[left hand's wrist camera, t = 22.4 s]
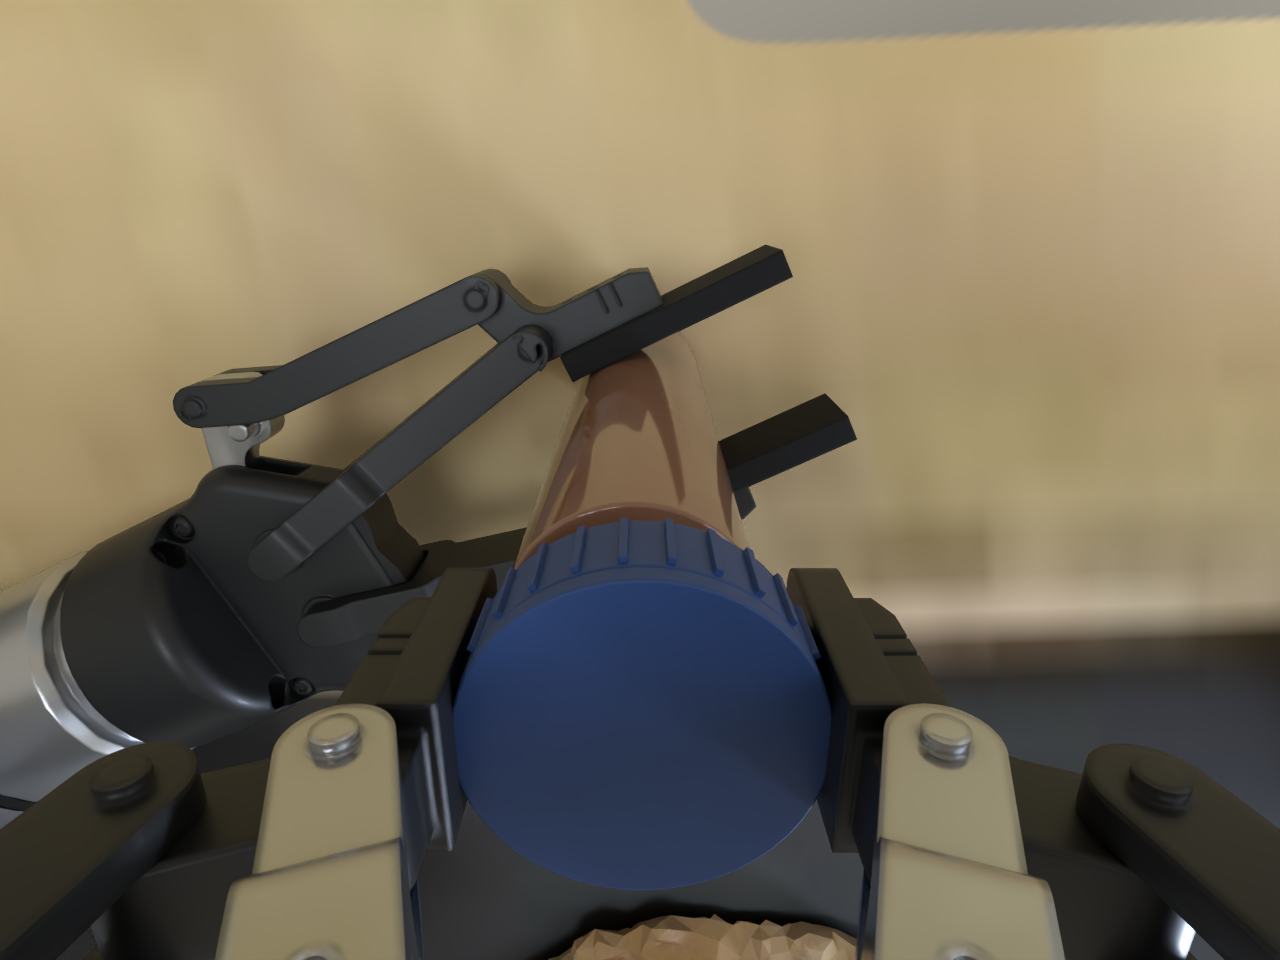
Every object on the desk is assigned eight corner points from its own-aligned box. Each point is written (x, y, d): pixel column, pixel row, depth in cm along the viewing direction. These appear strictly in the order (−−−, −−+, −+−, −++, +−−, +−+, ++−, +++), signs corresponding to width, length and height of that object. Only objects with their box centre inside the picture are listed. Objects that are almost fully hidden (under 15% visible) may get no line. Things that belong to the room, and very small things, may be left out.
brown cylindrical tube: (707, 410, 28) (807, 767, 11) (603, 436, 29) (535, 821, 11) (681, 303, 27) (746, 514, 9) (572, 333, 27) (438, 589, 10)
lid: (409, 699, 11) (370, 784, 10) (601, 443, 10) (593, 492, 8) (673, 847, 12) (679, 946, 11) (882, 636, 11) (925, 714, 9)
